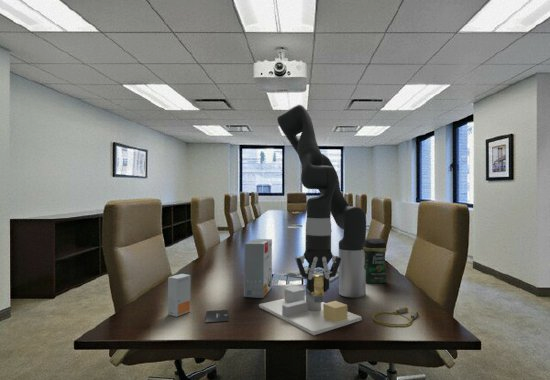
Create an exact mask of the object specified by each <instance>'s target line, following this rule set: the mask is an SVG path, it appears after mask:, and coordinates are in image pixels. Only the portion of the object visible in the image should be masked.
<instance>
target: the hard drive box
mask: <svg viewBox="0 0 550 380" xmlns="http://www.w3.org/2000/svg"><path fill="white" fill-rule="evenodd" d="M272 245H273V240H272V239H267V238H254V239H252V240H250V241H248V242H245V243H244V245H243V246H244V247H243V248H244V251H243V253H244V255H243V257H244V259H243V261H244V262H243V263H244V265H243V297H244V298H256V299H257V298H258V299H263V298H264V297H265V296H266V295H267V294H268V292H269V291H271V289H272V287H273V282H272V281H273V261H272V260H273V246H272Z"/></svg>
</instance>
